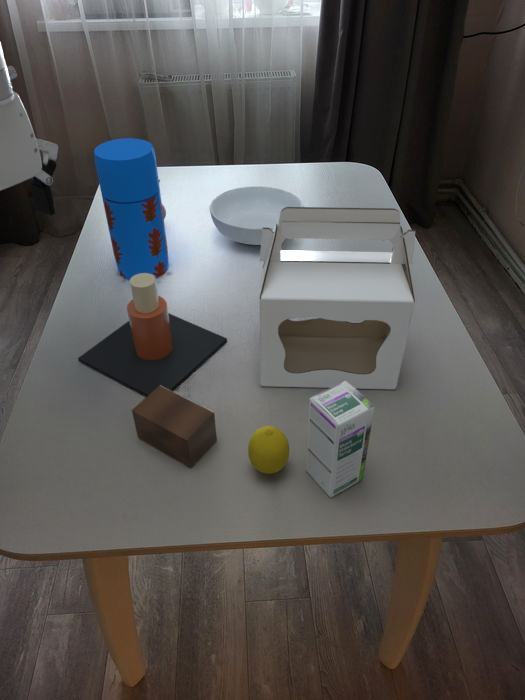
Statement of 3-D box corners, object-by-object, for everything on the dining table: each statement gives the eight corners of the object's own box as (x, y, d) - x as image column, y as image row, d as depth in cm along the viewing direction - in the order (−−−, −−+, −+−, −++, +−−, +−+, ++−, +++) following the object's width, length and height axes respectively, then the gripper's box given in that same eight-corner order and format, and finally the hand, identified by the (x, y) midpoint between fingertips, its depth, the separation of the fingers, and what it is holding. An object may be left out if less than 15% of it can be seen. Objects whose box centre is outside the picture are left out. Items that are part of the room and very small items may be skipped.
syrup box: (330, 499, 73) (340, 426, 64) (303, 469, 77) (309, 395, 68) (363, 479, 76) (377, 406, 66) (335, 451, 79) (345, 377, 70)
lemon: (276, 491, 74) (277, 453, 69) (241, 474, 76) (239, 436, 71) (295, 462, 78) (297, 424, 73) (260, 447, 80) (260, 409, 75)
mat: (78, 361, 94) (77, 358, 94) (150, 308, 106) (150, 305, 105) (159, 403, 87) (158, 400, 86) (227, 341, 98) (227, 338, 97)
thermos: (107, 266, 117) (82, 148, 100) (150, 248, 122) (133, 133, 106) (135, 288, 111) (113, 166, 94) (179, 268, 116) (165, 149, 100)
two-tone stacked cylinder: (138, 358, 98) (90, 329, 85) (170, 298, 100) (128, 261, 87) (166, 371, 95) (121, 343, 82) (198, 310, 97) (159, 273, 84)
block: (137, 438, 81) (131, 410, 78) (164, 412, 85) (160, 384, 81) (191, 468, 77) (187, 440, 73) (217, 440, 81) (214, 412, 77)
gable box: (258, 387, 89) (256, 230, 71) (261, 335, 99) (261, 186, 81) (397, 390, 89) (432, 233, 70) (386, 337, 99) (414, 188, 80)
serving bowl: (296, 261, 118) (298, 232, 113) (201, 252, 121) (198, 224, 116) (308, 215, 133) (309, 188, 129) (223, 209, 136) (221, 182, 132)
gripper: (18, 65, 69) (49, 195, 80) (-121, 99, 58) (-62, 245, 69) (59, 75, 66) (86, 209, 77) (-79, 113, 55) (-24, 263, 66)
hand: (16, 226), depth 73 cm, fingers open, 9 cm apart
